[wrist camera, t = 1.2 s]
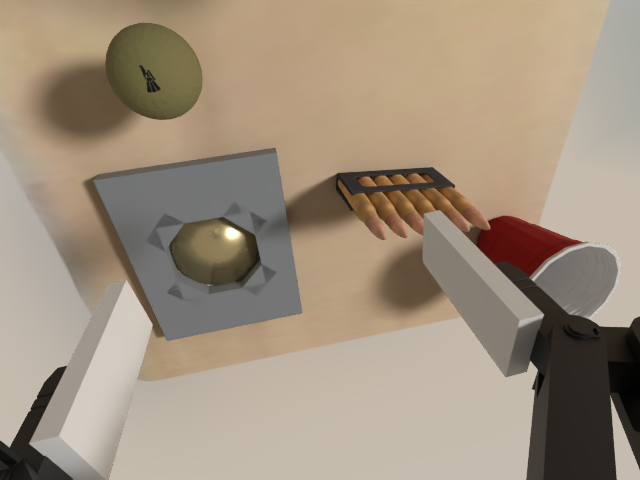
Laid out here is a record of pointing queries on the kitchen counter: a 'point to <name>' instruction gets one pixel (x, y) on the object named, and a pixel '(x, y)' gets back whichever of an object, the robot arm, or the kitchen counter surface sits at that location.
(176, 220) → the socket plate
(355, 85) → the kitchen counter surface
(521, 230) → the plastic cup
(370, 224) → the ammunition clip
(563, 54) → the kitchen counter surface
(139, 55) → the light bulb
